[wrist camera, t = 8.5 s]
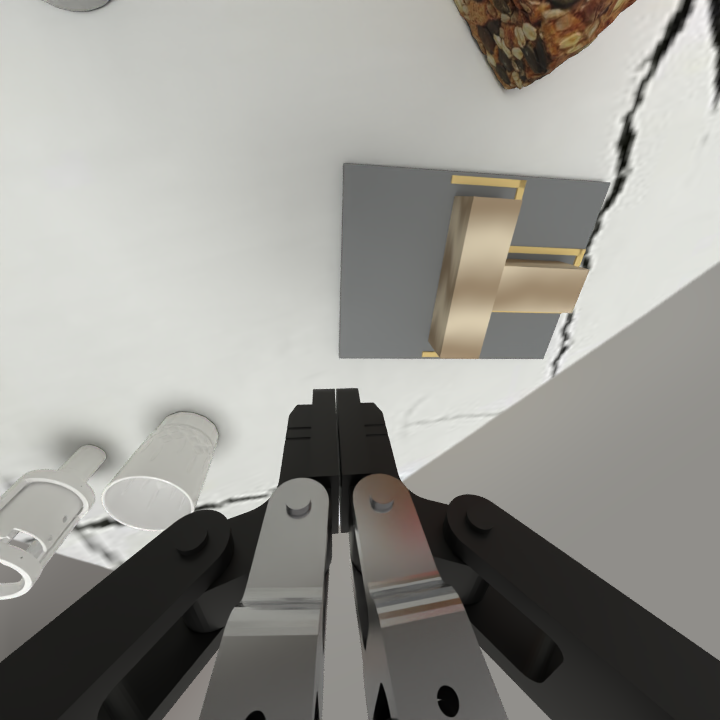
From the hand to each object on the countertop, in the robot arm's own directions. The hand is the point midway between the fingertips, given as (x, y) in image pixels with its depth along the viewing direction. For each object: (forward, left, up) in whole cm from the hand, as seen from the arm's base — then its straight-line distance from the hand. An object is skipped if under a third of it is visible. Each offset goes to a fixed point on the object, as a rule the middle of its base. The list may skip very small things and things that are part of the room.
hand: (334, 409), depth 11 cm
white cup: (+20, -17, -22) cm, 34 cm away
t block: (0, +17, -21) cm, 27 cm away
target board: (0, +13, -22) cm, 26 cm away
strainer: (+23, -29, -22) cm, 43 cm away
